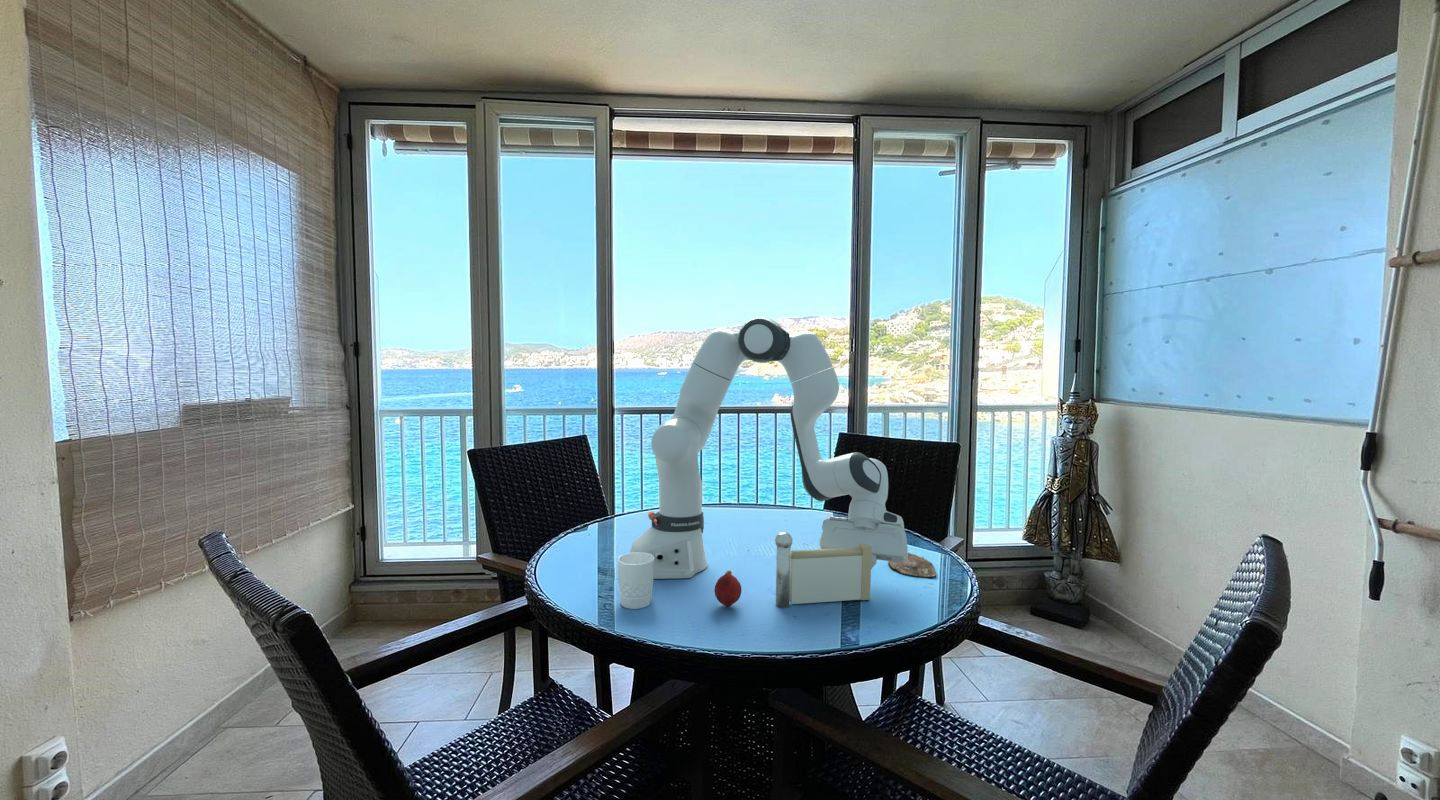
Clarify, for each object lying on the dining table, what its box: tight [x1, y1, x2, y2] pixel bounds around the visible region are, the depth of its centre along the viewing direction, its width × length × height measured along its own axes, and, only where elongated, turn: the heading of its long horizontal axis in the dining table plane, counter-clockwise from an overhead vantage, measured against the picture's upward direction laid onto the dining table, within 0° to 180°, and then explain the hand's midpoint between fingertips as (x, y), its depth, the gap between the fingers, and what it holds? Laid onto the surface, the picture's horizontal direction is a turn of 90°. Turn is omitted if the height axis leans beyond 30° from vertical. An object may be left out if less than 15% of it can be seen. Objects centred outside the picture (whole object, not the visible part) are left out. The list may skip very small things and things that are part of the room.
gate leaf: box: [790, 544, 872, 605], centre depth 121 cm, size 18×2×12 cm, turn 100°
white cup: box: [617, 552, 654, 610], centre depth 120 cm, size 8×8×10 cm
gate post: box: [774, 531, 793, 609], centre depth 119 cm, size 4×4×16 cm
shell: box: [887, 552, 937, 579], centre depth 143 cm, size 12×13×4 cm
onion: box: [713, 570, 742, 608], centre depth 118 cm, size 6×6×8 cm
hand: (859, 573), depth 125 cm, fingers closed
